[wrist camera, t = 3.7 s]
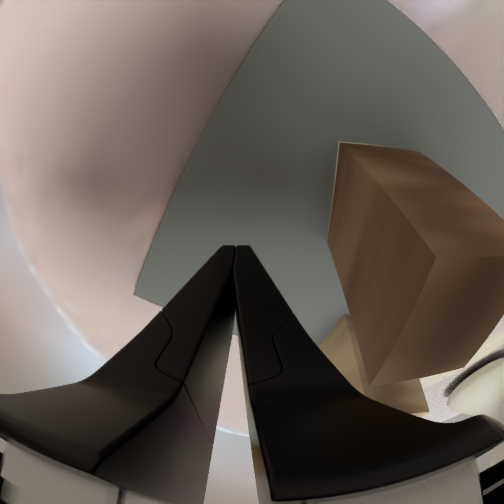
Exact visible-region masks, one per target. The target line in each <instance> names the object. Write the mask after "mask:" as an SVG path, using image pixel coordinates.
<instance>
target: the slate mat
mask: <svg viewBox="0 0 504 504" xmlns="http://www.w3.org/2000/svg"><path fill="white" fill-rule="evenodd" d="M338 141H341V142H353V143H363V144H372V145H381V146H389V147H397V148H404V149H411V150H417V151H419V152H421V153H422V154H424V155H425V156H427V157H428V158H429V159H431V160H432V161H434V162H435V163H436V164H438V165H439V166H440V167H442V168H443V169H444V170H446V171H447V172H448V173H450V174H451V175H452V176H454V177H455V178H456V179H457V180H459V181H460V182H461V183H462V184H464V185H465V186H466V187H467V188H469V189H470V190H471V191H472V192H473V193H475V194H476V195H477V196H478V197H479V198H480V199H481V200H483V201H484V202H485V203H486V204H487V205H488V206H489V207H490V208H492V209H493V210H494V211H495V212H496V213H497V214H498V215H499V216H500V217H501V218H502V219H503V220H504V130H503V128H502V126H501V125H500V123H499V122H498V120H497V119H496V117H495V116H494V114H493V113H492V111H491V110H490V108H489V107H488V106H487V104H486V103H485V101H484V100H483V99H482V97H481V96H480V95H479V93H478V92H477V91H476V89H475V88H474V87H473V85H472V84H471V83H470V82H469V80H468V79H467V78H466V77H465V75H464V74H463V73H462V72H461V71H460V70H459V68H458V67H457V66H456V65H455V64H454V63H453V62H452V60H451V59H450V58H449V57H448V56H447V55H446V54H445V53H444V52H443V51H442V50H441V49H440V48H439V46H438V45H437V44H436V43H435V42H434V41H433V40H432V39H431V38H430V37H429V36H427V35H426V34H425V33H424V32H423V31H422V30H421V29H420V28H419V27H418V26H417V25H416V24H415V23H413V22H412V21H411V20H410V19H409V18H408V17H407V16H405V15H404V14H403V13H402V12H401V11H399V10H398V9H397V8H396V7H395V6H393V5H392V4H391V3H390V2H388V1H387V0H284V1H283V3H282V4H281V5H280V7H279V8H278V10H277V11H276V12H275V14H274V15H273V17H272V18H271V20H270V21H269V23H268V24H267V25H266V27H265V28H264V30H263V31H262V33H261V34H260V36H259V37H258V39H257V40H256V42H255V44H254V45H253V47H252V48H251V50H250V51H249V53H248V55H247V56H246V58H245V59H244V61H243V63H242V64H241V66H240V67H239V69H238V71H237V72H236V74H235V76H234V77H233V79H232V81H231V83H230V84H229V86H228V88H227V89H226V91H225V93H224V95H223V96H222V98H221V100H220V102H219V104H218V105H217V107H216V109H215V111H214V113H213V115H212V116H211V118H210V120H209V122H208V124H207V126H206V128H205V130H204V131H203V133H202V135H201V137H200V139H199V141H198V143H197V145H196V147H195V149H194V151H193V153H192V155H191V157H190V159H189V161H188V163H187V165H186V167H185V170H184V172H183V174H182V176H181V178H180V180H179V182H178V185H177V187H176V189H175V191H174V193H173V196H172V198H171V200H170V202H169V205H168V207H167V209H166V211H165V214H164V216H163V219H162V221H161V223H160V226H159V228H158V230H157V233H156V235H155V238H154V240H153V243H152V245H151V248H150V250H149V253H148V256H147V258H146V261H145V263H144V266H143V269H142V271H141V274H140V277H139V280H138V282H137V285H136V288H135V291H134V294H133V295H135V296H137V297H140V298H142V299H144V300H147V301H149V302H151V303H154V304H156V305H159V306H161V307H163V308H164V307H165V305H166V304H167V303H168V302H169V301H170V300H171V299H172V298H173V297H174V296H175V295H176V294H177V292H178V291H179V290H180V289H181V288H182V287H183V286H184V285H185V284H186V283H187V282H188V281H189V280H190V279H191V277H192V276H193V275H194V274H195V273H196V272H197V271H198V270H199V269H200V268H201V267H202V266H203V265H204V264H205V263H206V262H207V261H208V259H209V258H210V257H211V256H212V255H213V254H214V253H215V252H216V251H217V250H218V249H219V248H220V247H221V246H222V245H235V246H237V245H250V246H251V247H252V249H253V251H254V252H255V254H256V255H257V257H258V258H259V260H260V261H261V263H262V265H263V266H264V268H265V269H266V271H267V272H268V274H269V275H270V277H271V279H272V280H273V282H274V283H275V285H276V286H277V288H278V289H279V291H280V293H281V294H282V296H283V297H284V299H285V300H286V302H287V303H288V305H289V306H290V308H291V310H292V311H293V314H295V316H296V317H297V319H298V320H299V322H300V323H301V325H302V326H303V328H304V329H305V330H306V332H307V333H308V335H309V336H310V337H311V339H312V340H313V341H314V342H315V343H316V345H317V346H319V344H320V343H321V342H322V341H323V340H324V339H325V337H326V336H327V335H328V334H329V333H330V332H331V330H332V329H333V328H334V327H335V325H336V324H337V323H338V322H339V321H340V319H341V318H342V317H343V316H344V314H345V315H349V316H350V313H349V309H348V306H347V303H346V299H345V296H344V293H343V290H342V286H341V283H340V280H339V277H338V274H337V271H336V268H335V264H334V261H333V258H332V255H331V252H330V250H329V247H328V244H327V241H326V238H327V232H328V225H329V218H330V211H331V203H332V195H333V187H334V179H335V170H336V161H337V151H338ZM232 334H234V335H237V336H238V332H237V322H236V314H235V322H234V328H233V333H232Z"/></svg>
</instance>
